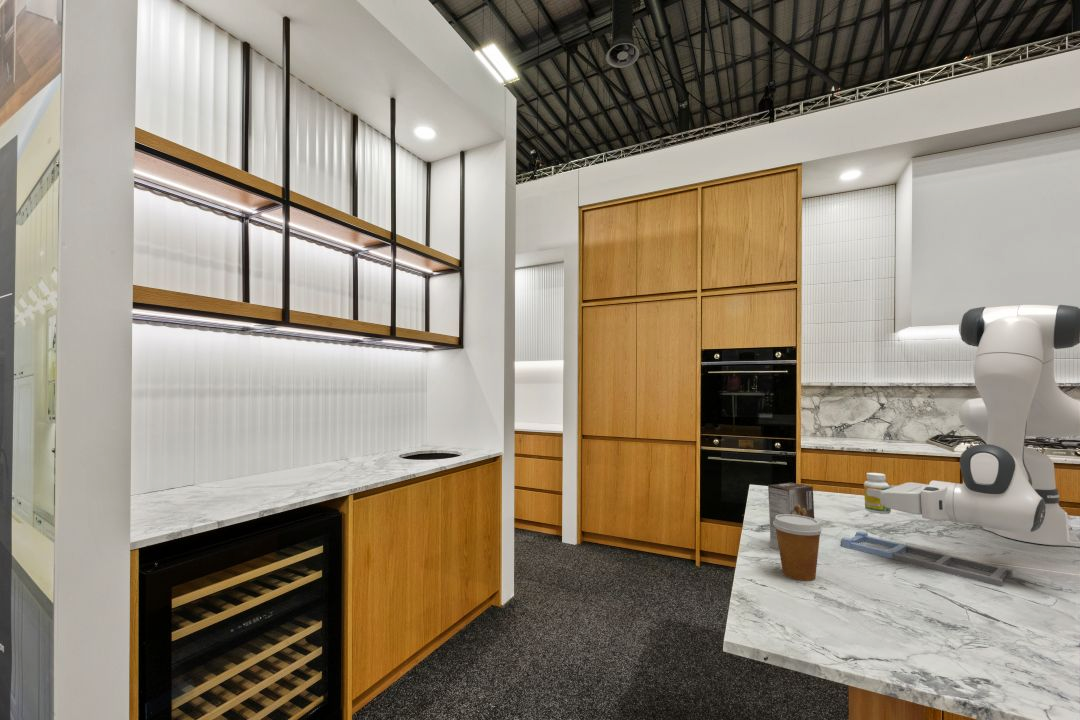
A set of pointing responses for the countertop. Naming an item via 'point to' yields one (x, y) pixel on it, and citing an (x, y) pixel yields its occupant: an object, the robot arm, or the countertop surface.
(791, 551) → the disposable coffee cup
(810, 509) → the coffee box
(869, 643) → the countertop surface
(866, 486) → the supplement bottle
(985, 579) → the blue ladder rack
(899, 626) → the countertop surface
